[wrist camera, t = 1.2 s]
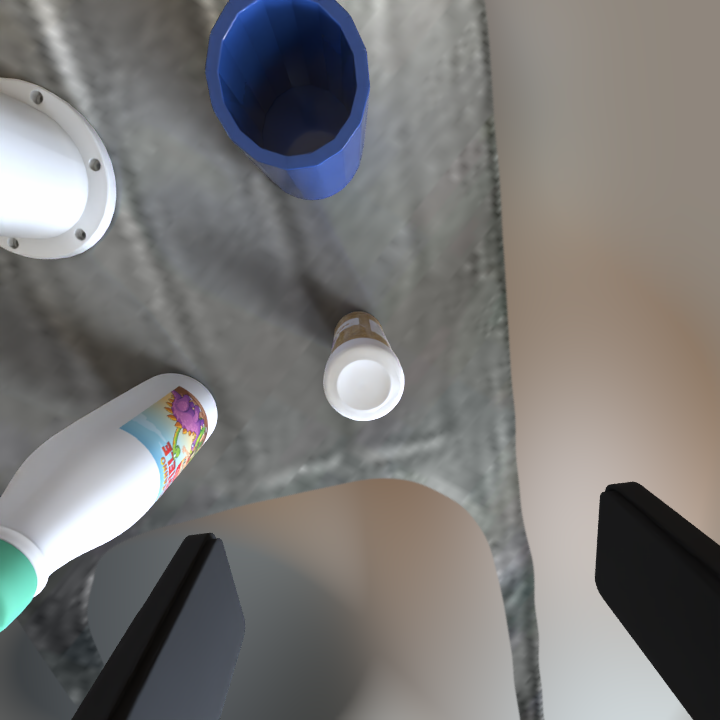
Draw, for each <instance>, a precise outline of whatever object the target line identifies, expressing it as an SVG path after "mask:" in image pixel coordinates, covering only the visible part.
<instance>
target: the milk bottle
mask: <svg viewBox="0 0 720 720" xmlns="http://www.w3.org/2000/svg"><path fill="white" fill-rule="evenodd" d="M216 422H217V408H216V403H215V401H214V399H213V396H212V395H211V393H210V392H209V391H208V389H207V388H206V387H205V386H204V385H203V384H201V383H200V382H198V381H197V380H195V379H193V378H191V377H189V376H185V375H182V374H176V373H166V374H160V375H157V376H154V377H152V378H150V379H148V380H146V381H144V382H143V383H141V384H139V385H137V386H136V387H134V388H132V389H130V390H129V391H127V392H125V393H123V394H122V395H120V396H118V397H117V398H115V399H113V400H111V401H110V402H108V403H106V404H104V405H103V406H101V407H99V408H98V409H96V410H94V411H93V412H91V413H89V414H88V415H86V416H84V417H82V418H81V419H79V420H77V421H76V422H74V423H73V424H71V425H70V426H68V427H66V428H65V429H63V430H62V431H60V432H59V433H57V434H56V435H54V436H52V437H51V438H50V439H48V440H47V441H46V442H45V443H43V444H42V445H41V446H40V447H38V448H37V449H36V450H35V451H34V452H33V453H32V454H31V455H30V456H29V457H28V458H27V459H26V460H25V462H24V463H23V464H22V465H21V466H20V468H19V469H18V471H17V472H16V474H15V475H14V477H13V478H12V480H11V481H10V483H9V485H8V486H7V488H6V490H5V491H4V493H3V495H2V496H1V497H0V632H1V631H2V630H3V629H5V628H6V627H7V626H8V625H9V624H10V623H11V622H12V621H13V620H14V619H15V618H16V617H17V616H18V615H19V614H20V613H21V612H22V611H23V610H24V609H25V608H26V606H27V605H28V604H29V603H30V602H31V600H32V598H33V597H35V596H36V595H37V594H39V593H40V592H41V591H42V589H43V588H44V587H45V585H46V583H47V580H48V576H49V575H50V574H51V573H53V572H54V571H55V570H57V569H58V568H60V567H61V566H63V565H64V564H66V563H67V562H69V561H70V560H72V559H74V558H75V557H77V556H79V555H81V554H83V553H85V552H87V551H89V550H91V549H94V548H96V547H98V546H100V545H102V544H104V543H106V542H108V541H110V540H111V539H113V538H115V537H116V536H118V535H120V534H121V533H123V532H124V531H125V530H127V529H128V528H129V527H131V526H132V525H133V524H134V523H135V522H136V521H137V520H139V519H140V518H141V517H142V516H143V515H144V514H145V513H146V512H147V511H148V510H149V508H150V507H151V506H152V505H153V504H154V503H155V502H156V501H157V500H158V499H159V497H160V496H161V495H162V494H163V493H164V491H165V490H166V489H167V488H168V487H169V485H170V484H171V483H172V482H173V481H174V479H175V478H176V477H177V476H178V475H179V474H180V472H181V471H182V470H183V469H184V467H185V466H186V465H187V464H188V463H189V461H190V460H191V459H192V458H193V456H194V455H195V454H196V453H197V452H198V450H199V449H200V448H201V447H202V445H203V444H204V443H205V442H206V440H207V439H208V438H209V436H210V435H211V434H212V432H213V430H214V428H215V426H216Z"/></svg>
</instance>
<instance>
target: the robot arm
mask: <svg viewBox="0 0 720 720" xmlns="http://www.w3.org/2000/svg"><path fill="white" fill-rule="evenodd" d="M100 166H101V168H100ZM115 203H116V180H115V175H114V171H113V167H112V162H111V160H110V157H109V155H108V153H107V150H106V148H105V145H104V144H103V142H102V141H101V139H100V137H99V136H98V134H97V132H96V131H95V129H94V128H93V127H92V126H91V125H90V123H89V122H88V121H87V120H86V119H85V117H84V116H83V115H82V114H81V113H79V112H78V111H77V110H76V109H75V108H74V107H73V106H71V105H70V104H69V103H68V102H66V101H65V100H63V99H61V98H60V97H58V96H57V95H55V94H53V93H52V92H50V91H48V90H46V89H44V88H42V87H40V86H38V85H36V84H33V83H30V82H26V81H23V80H20V79H13V78H2V77H0V247H2V248H4V249H6V250H8V251H10V252H13V253H16V254H19V255H22V256H25V257H31V258H37V259H60V258H68V257H72V256H74V255H77V254H80V253H83V252H84V251H86V250H87V249H89V248H90V247H92V246H93V245H94V244H95V243H96V242H97V241H98V240H99V239H100V238H101V237H102V236H103V235H104V233H105V231H106V230H107V228H108V226H109V225H110V222H111V219H112V216H113V213H114V210H115ZM598 522H599V523H598V537H597V553H596V569H595V582H596V586H597V589H598V591H599V593H600V595H601V596H602V597H603V599H604V600H605V602H606V603H607V605H608V606H609V607H610V608H611V610H612V611H613V613H614V614H615V615H616V617H617V618H618V619H619V621H620V622H621V623H622V625H623V626H624V627H625V629H626V630H627V631H628V633H629V634H630V635H631V637H632V638H633V639H634V641H635V642H636V643H637V645H638V646H639V648H640V649H641V650H642V652H643V653H644V654H645V656H646V657H647V658H648V660H649V661H650V662H651V663H652V665H653V666H654V668H655V669H656V670H657V672H658V673H659V674H660V676H661V677H662V678H663V680H664V681H665V682H666V684H667V685H668V687H669V688H670V689H671V691H672V692H673V693H674V694H675V696H676V697H677V699H678V700H679V701H680V703H681V704H682V705H683V707H684V708H685V709H686V711H687V712H688V713H689V715H690V716H691V717H692V719H693V720H720V545H718V544H717V543H716V542H714V541H713V540H712V539H711V538H709V537H708V536H706V535H705V534H704V533H703V532H701V531H700V530H699V529H698V528H696V527H695V526H694V525H692V524H691V523H690V522H688V521H687V520H686V519H685V518H683V517H682V516H681V515H679V514H678V513H677V512H675V511H674V510H673V509H672V508H670V507H669V506H668V505H666V504H665V503H664V502H662V501H661V500H660V499H659V498H657V497H656V496H654V495H653V494H652V493H650V492H649V491H648V490H647V489H645V488H644V487H643V486H642V485H640V484H638V483H636V482H627V483H618V484H611V485H608V486H607V487H606V490H605V492H602V493H601V495H600V505H599V521H598ZM244 632H245V620H244V616H243V612H242V609H241V605H240V601H239V598H238V595H237V591H236V588H235V584H234V581H233V577H232V573H231V570H230V566H229V563H228V560H227V556H226V552H225V549H224V545H223V542H222V540H221V539H220V538H217V539H216V537H215V535H214V534H213V533H205V534H197V535H189V536H187V537H186V538H185V539H184V541H183V542H182V544H181V546H180V547H179V549H178V550H177V552H176V554H175V555H174V557H173V558H172V560H171V562H170V563H169V565H168V566H167V568H166V570H165V572H164V573H163V575H162V576H161V578H160V579H159V581H158V583H157V584H156V586H155V587H154V589H153V591H152V592H151V594H150V596H149V597H148V599H147V601H146V602H145V604H144V605H143V607H142V608H141V610H140V611H139V612H138V614H137V615H136V617H135V618H134V620H133V622H132V623H131V625H130V626H129V628H128V629H127V631H126V633H125V635H124V636H123V637H122V639H121V641H120V642H119V644H118V646H117V647H116V649H115V650H114V652H113V654H112V655H111V657H110V658H109V660H108V662H107V663H106V665H105V666H104V668H103V670H102V671H101V673H100V675H99V676H98V678H97V679H96V681H95V683H94V684H93V686H92V687H91V689H90V691H89V692H88V694H87V695H86V697H85V699H84V700H83V702H82V703H81V705H80V707H79V708H78V710H77V712H76V713H75V715H74V717H73V718H72V720H219V719H220V716H221V712H222V709H223V706H224V702H225V699H226V695H227V692H228V689H229V685H230V682H231V679H232V675H233V672H234V669H235V665H236V662H237V658H238V655H239V652H240V648H241V645H242V642H243V638H244Z"/></svg>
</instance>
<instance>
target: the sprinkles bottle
mask: <svg viewBox="0 0 720 720" xmlns="http://www.w3.org/2000/svg"><path fill="white" fill-rule="evenodd" d="M323 387H324V392H325V395H326V398H327V400H328V401H329V403H330V404H331V406H332V407H333V408H334V409H335V410H336V411H337V412H339V413H340V414H341V415H343V416H345V417H347V418H350V419H353V420H361V421H367V420H373V419H377V418H379V417H382V416H384V415H385V414H387V413H388V412H390V411H391V410H392V409H393V408H394V407H395V406H396V404H397V403H398V401H399V400H400V398H401V395H402V393H403V389H404V375H403V371H402V367H401V365H400V362H399V360H398V358H397V356H396V355H395V353H394V352H393V351H392V350H391V347H390V345H389V343H388V341H387V338H386V336H385V334H384V332H383V330H382V327H381V325H380V323H379V322H378V320H377V319H376V318H374V317H373V316H372V315H371V314H368V313H365V312H353V313H350V314H347V315H345V316H344V317H343V318H342V319H341V320H340V321H339V322H338V324H337V326H336V328H335V332H334V340H333V346H332V351H331V355H330V357H329V359H328V361H327V364H326V367H325V371H324V378H323Z"/></svg>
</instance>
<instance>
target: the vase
mask: <svg viewBox="0 0 720 720" xmlns="http://www.w3.org/2000/svg"><path fill="white" fill-rule="evenodd" d="M205 75H206V80H207V85H208V90H209V95H210V100H211V104H212V108H213V111H214V112H215V114H216V116H217V117H218V119H219V121H220V123H221V124H222V126H223V128H224V129H225V131H226V133H227V134H228V136H229V138H230V139H231V140H232V141H233V143H234V144H235V145H236V146H237V147H238V148H239V149H240V150H241V151H242V152H243V153H244V154H245V155H246V156H247V157H248V158H249V159H250V160H251V161H252V162H253V163H254V164H255V165H256V166H257V167H258V168H259V169H260V170H261V171H262V172H263V173H264V174H265V175H266V176H267V177H268V178H269V179H270V180H271V181H272V182H274V183H275V184H276V185H277V186H278V187H279V188H280V189H282V190H283V191H284V192H286V193H288V194H290V195H292V196H294V197H297V198H301V199H306V200H319V199H324V198H327V197H330V196H332V195H334V194H336V193H337V192H339V191H340V190H342V189H343V188H344V187H345V186H346V185H347V184H348V183H349V182H350V180H351V179H352V178H353V176H354V174H355V173H356V171H357V169H358V166H359V163H360V160H361V156H362V151H363V147H364V139H365V130H366V120H367V110H368V101H369V91H370V81H369V71H368V60H367V51H366V48H365V46H364V44H363V41H362V39H361V37H360V35H359V33H358V31H357V28H356V26H355V24H354V22H353V20H352V17H351V16H350V15H349V13H348V12H347V11H346V10H345V9H344V8H343V7H342V6H341V5H340V4H339V3H337V2H336V1H335V0H229V2H227V4H226V5H225V7H224V9H223V11H222V13H221V14H220V16H219V18H218V20H217V21H216V23H215V25H214V27H213V28H212V30H211V34H210V37H209V44H208V51H207V58H206V66H205Z"/></svg>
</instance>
